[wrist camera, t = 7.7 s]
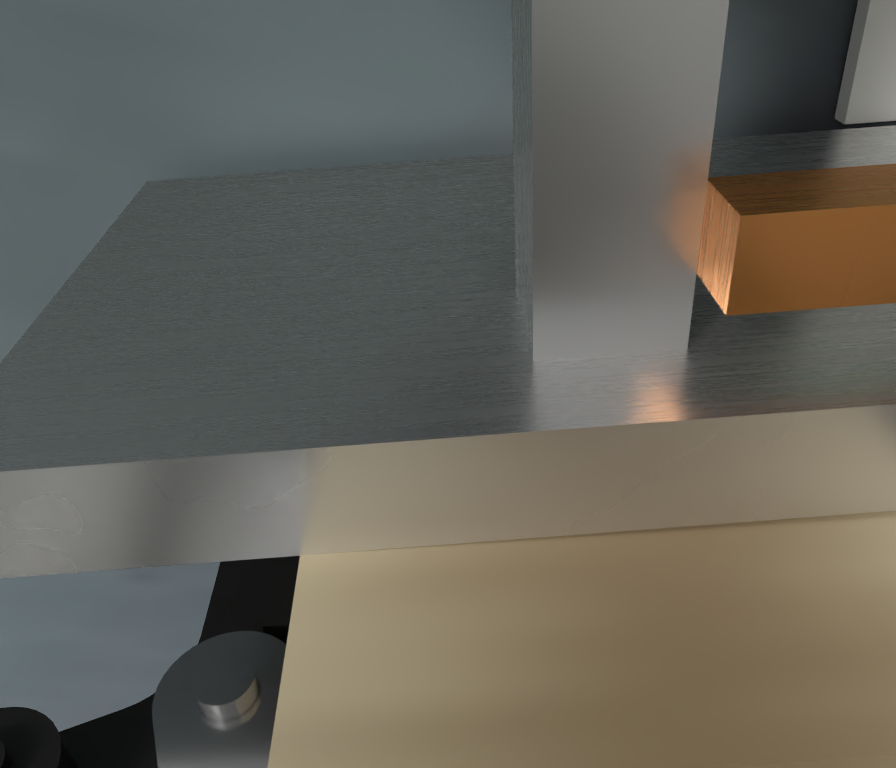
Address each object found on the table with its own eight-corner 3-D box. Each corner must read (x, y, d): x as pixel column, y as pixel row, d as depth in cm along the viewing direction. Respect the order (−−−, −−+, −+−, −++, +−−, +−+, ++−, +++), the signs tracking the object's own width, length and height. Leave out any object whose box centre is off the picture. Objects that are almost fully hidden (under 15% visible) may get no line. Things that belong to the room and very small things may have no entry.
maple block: (382, 545, 13) (362, 1103, 7) (344, 265, 10) (262, 800, 4) (687, 524, 13) (913, 1060, 7) (730, 239, 10) (1154, 735, 4)
